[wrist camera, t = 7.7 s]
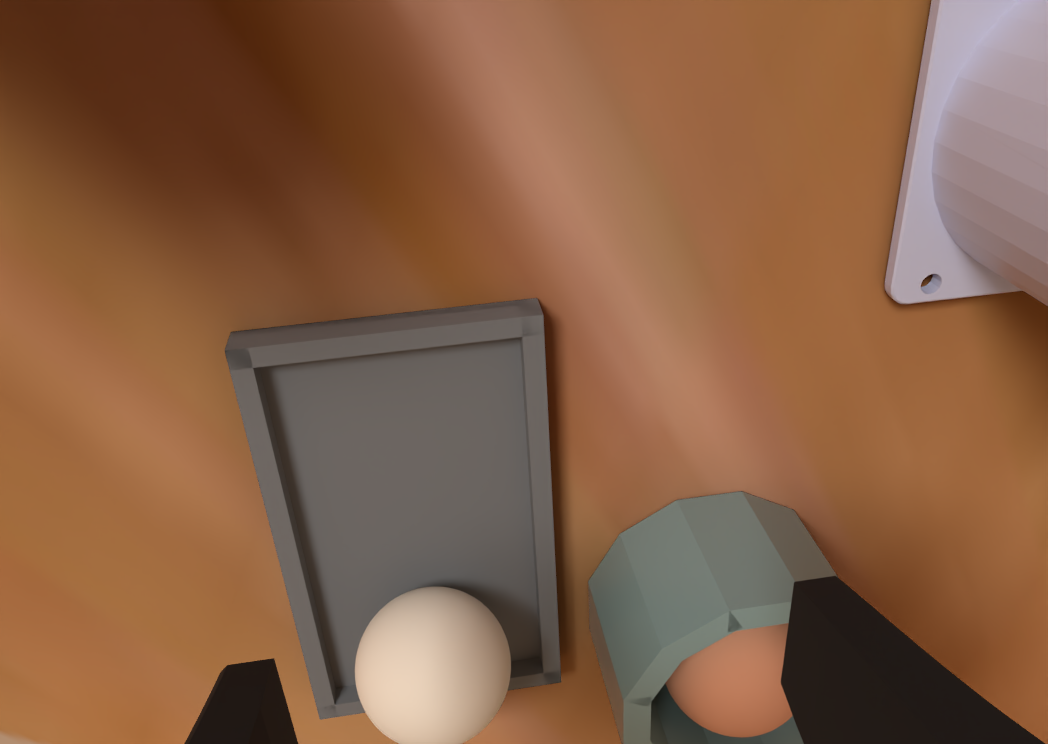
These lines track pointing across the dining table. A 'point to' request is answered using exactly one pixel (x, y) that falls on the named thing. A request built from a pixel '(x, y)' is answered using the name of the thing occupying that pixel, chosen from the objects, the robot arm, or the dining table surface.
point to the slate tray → (405, 475)
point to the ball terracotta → (735, 683)
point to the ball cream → (432, 667)
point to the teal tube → (692, 603)
